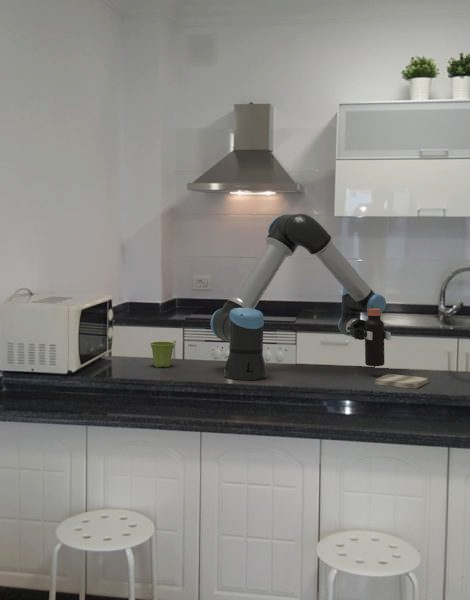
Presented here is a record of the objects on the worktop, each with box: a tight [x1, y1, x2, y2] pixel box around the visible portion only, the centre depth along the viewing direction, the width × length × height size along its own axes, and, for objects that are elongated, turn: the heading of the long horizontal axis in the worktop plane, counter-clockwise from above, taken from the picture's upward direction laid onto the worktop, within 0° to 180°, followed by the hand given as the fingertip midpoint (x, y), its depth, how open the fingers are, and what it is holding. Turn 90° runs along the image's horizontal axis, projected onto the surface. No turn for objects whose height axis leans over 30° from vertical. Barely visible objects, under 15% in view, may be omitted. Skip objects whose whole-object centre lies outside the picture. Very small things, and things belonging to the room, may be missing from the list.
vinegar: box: [364, 308, 385, 367], centre depth 252 cm, size 7×7×20 cm
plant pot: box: [149, 341, 176, 368], centre depth 265 cm, size 9×9×9 cm
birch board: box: [374, 373, 429, 390], centre depth 240 cm, size 14×14×2 cm
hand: (380, 336), depth 247 cm, fingers closed on vinegar, 6 cm apart
